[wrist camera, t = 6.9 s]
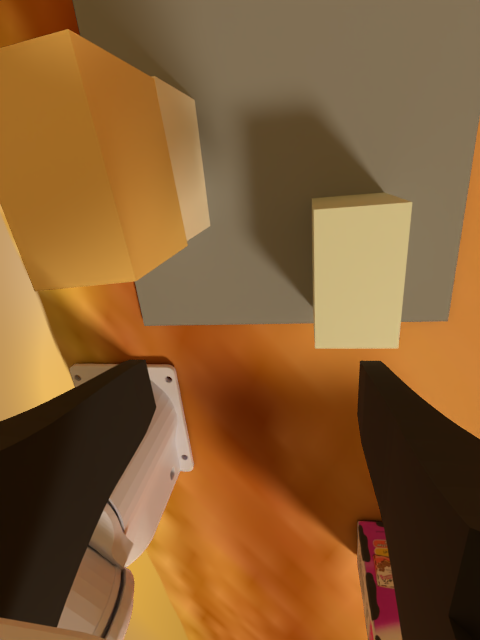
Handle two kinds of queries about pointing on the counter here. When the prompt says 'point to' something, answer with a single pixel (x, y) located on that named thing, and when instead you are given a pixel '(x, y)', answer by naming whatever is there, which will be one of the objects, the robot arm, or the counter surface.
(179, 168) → the cream block
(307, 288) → the rubber mat
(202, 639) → the counter surface
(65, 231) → the mustard block
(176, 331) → the counter surface
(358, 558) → the candy bar box
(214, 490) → the counter surface
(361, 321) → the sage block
